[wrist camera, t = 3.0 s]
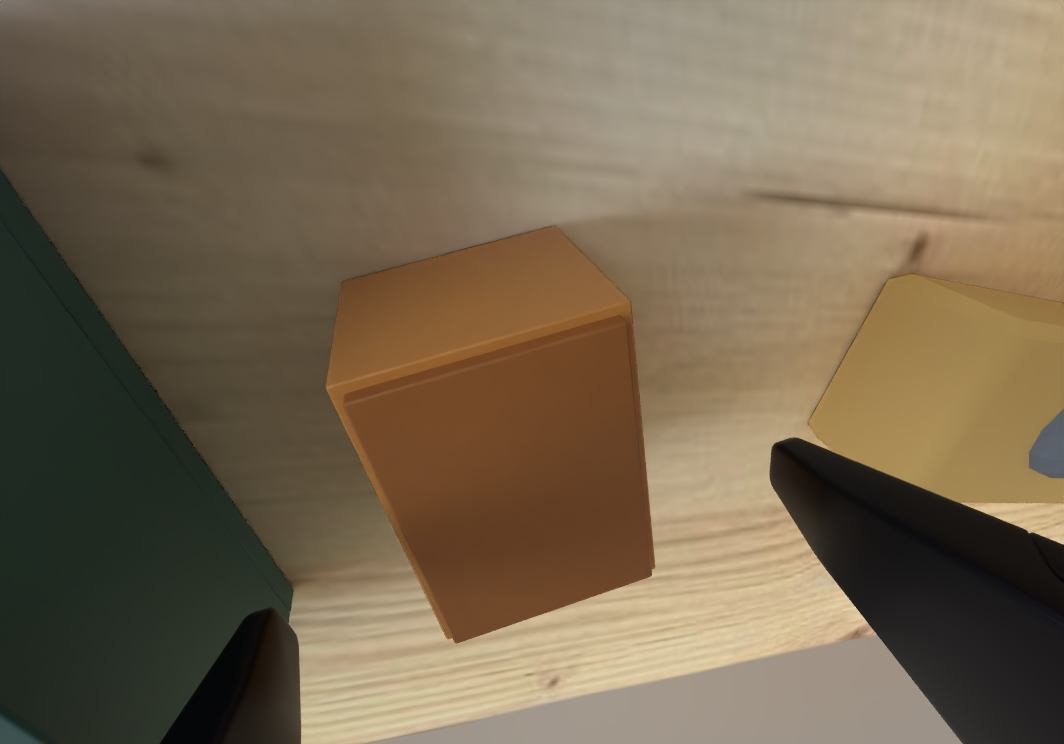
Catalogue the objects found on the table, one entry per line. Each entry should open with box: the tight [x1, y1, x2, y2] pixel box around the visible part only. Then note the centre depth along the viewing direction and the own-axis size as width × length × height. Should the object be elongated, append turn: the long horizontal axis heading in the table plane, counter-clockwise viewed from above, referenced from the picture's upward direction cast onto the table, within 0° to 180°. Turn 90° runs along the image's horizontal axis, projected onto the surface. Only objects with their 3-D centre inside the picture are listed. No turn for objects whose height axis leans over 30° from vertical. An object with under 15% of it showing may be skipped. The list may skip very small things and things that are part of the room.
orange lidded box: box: [326, 226, 655, 643], centre depth 12 cm, size 5×7×5 cm
